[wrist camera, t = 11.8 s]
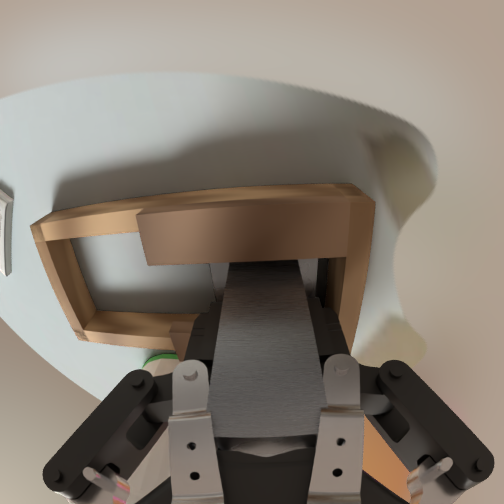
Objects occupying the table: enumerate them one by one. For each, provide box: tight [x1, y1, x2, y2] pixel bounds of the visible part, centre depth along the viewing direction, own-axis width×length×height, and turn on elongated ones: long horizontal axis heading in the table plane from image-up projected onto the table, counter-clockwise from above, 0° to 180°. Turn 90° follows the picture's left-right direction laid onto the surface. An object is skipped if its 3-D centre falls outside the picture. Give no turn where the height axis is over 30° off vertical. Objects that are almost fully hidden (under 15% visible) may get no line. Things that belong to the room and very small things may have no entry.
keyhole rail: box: [30, 184, 375, 362], centre depth 15 cm, size 20×10×4 cm, turn 94°
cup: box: [67, 354, 181, 504], centre depth 16 cm, size 12×12×15 cm
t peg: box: [206, 258, 328, 457], centre depth 12 cm, size 6×6×11 cm
